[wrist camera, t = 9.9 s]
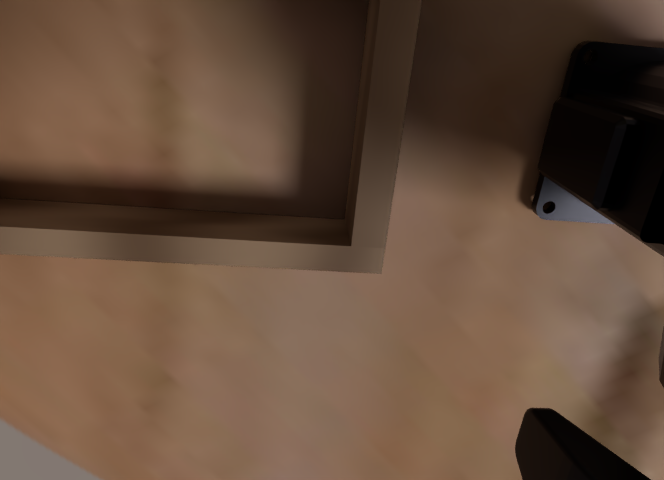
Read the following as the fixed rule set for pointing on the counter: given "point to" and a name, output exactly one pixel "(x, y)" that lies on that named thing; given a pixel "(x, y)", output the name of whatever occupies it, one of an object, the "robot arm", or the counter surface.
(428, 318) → the counter surface
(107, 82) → the counter surface
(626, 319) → the counter surface
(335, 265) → the holder frame
